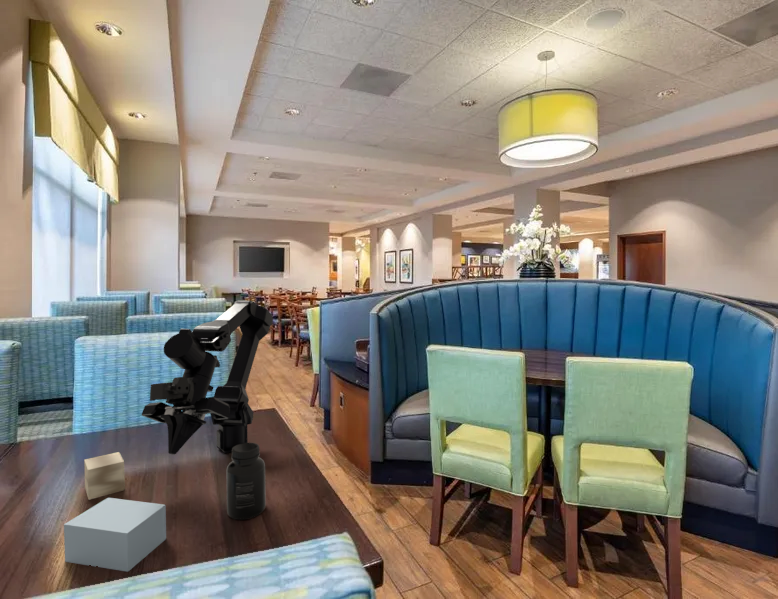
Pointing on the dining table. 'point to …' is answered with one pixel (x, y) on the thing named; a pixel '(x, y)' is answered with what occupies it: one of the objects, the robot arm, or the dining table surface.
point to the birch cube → (104, 475)
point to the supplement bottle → (245, 482)
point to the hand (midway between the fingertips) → (171, 454)
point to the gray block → (115, 533)
